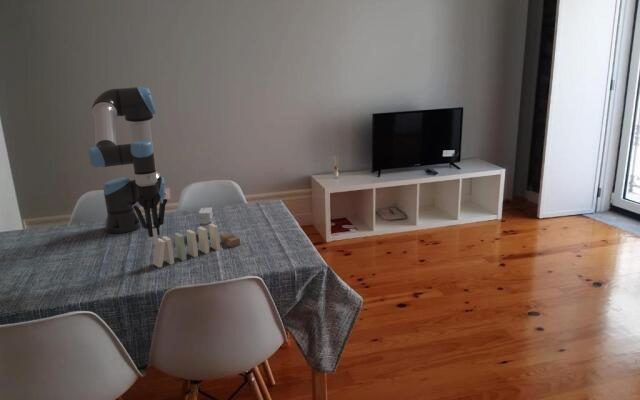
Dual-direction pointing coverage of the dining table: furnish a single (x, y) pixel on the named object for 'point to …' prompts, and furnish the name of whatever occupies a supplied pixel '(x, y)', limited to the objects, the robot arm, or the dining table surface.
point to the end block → (230, 240)
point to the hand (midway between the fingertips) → (155, 243)
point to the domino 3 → (180, 246)
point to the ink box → (206, 218)
